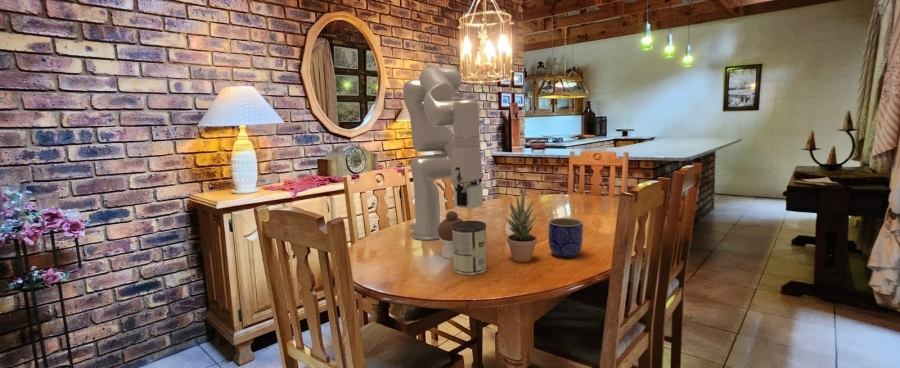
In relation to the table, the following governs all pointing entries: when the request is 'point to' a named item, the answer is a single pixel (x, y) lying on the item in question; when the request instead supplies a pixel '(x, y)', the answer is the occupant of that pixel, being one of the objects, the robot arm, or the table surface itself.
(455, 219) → the figurine
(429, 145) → the robot arm
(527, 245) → the potted plant
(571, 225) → the planter
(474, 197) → the sage block
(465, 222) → the coffee can
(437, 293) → the table surface
